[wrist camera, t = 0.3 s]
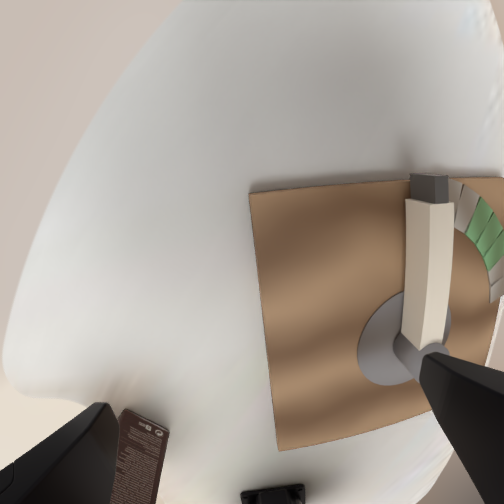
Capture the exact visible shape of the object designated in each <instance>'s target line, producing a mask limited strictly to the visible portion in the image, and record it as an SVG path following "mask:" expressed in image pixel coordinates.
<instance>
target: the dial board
mask: <svg viewBox="0 0 504 504" xmlns="http://www.w3.org/2000/svg"><path fill="white" fill-rule="evenodd" d="M448 185H449V202H453V203H454V237H453V257H452V270H451V281H450V291H449V300H448V308H447V315H446V322H445V328H444V334H443V340H442V345H443V346H444V347H446V348H447V349H448V351H449V353H450V356H452V357H456V358H459V359H462V360H465V361H469V362H472V363H475V364H479V365H482V366H485V362H486V359H487V355H488V351H489V348H490V344H491V340H492V335H493V331H494V327H495V322H496V317H497V312H498V307H499V302H500V297H501V296H502V295H504V178H502V177H467V178H448ZM248 195H249V203H250V212H251V220H252V229H253V237H254V246H255V254H256V263H257V272H258V280H259V289H260V298H261V306H262V315H263V324H264V332H265V341H266V350H267V359H268V367H269V376H270V385H271V394H272V403H273V412H274V420H275V429H276V438H277V445H278V450H279V451H285V450H291V449H297V448H302V447H307V446H312V445H317V444H322V443H326V442H330V441H335V440H339V439H343V438H347V437H351V436H354V435H358V434H362V433H365V432H369V431H372V430H376V429H379V428H382V427H385V426H388V425H392V424H395V423H398V422H401V421H403V420H406V419H409V418H412V417H415V416H417V415H420V414H423V413H425V412H428V411H431V410H432V408H431V406H430V404H429V402H428V400H427V398H426V396H425V394H424V392H423V390H422V387H421V385H420V383H418V382H417V381H416V380H415V379H414V377H413V376H412V375H411V374H410V373H409V371H408V370H407V369H406V368H405V367H404V365H403V364H402V363H401V362H400V361H399V359H398V358H397V357H396V356H395V354H394V351H393V347H394V343H395V340H396V338H397V337H398V335H399V334H400V333H401V327H402V317H403V304H404V289H405V268H406V201H405V199H411V190H410V180H393V181H377V182H363V183H350V184H337V185H326V186H315V187H305V188H295V189H285V190H276V191H267V192H258V193H250V194H248Z"/></svg>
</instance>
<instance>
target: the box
mask: <svg viewBox="0 0 504 504" xmlns="http://www.w3.org/2000/svg"><path fill="white" fill-rule="evenodd" d="M117 421H118V423H119V427H120V433H119V443H118V453H117V465H116V474H115V480H114V485H113V490H112V495H111V500H110V504H155V503H156V498H157V493H158V487H159V482H160V477H161V472H162V467H163V462H164V457H165V452H166V447H167V442H168V438H169V431H167V430H166V429H164V428H163V427H162V426H159V425H157V424H155V423H153V422H151V421H149V420H147V419H145V418H143V417H141V416H138V415H136V414H135V413H132V412H131V411H128V410H126V409H125V410H123V412H122V414H121V415H120V417H119V419H118V420H117Z"/></svg>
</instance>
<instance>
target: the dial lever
mask: <svg viewBox="0 0 504 504" xmlns="http://www.w3.org/2000/svg"><path fill="white" fill-rule="evenodd" d="M410 190H411V199H405V201H406V268H405V289H404V304H403V317H402V327H401V333H400V334H399V335H398V337H397V338H396V340H395V343H394V347H393V351H394V354H395V356H396V357H397V358H398V359H399V361H400V362H401V363H402V364H403V365H404V367H405V368H406V369H407V370H408V371H409V373H410V374H411V375H412V376H413V377H414V379H415V380H416V381H417V382H418V383H420V382H419V374H420V369H421V363H422V358H423V356H424V355H426V354H428V353H431V352H440V353H443V354H446V355H449V356H450V353H449V351H448V349H447V348H446V347H444V346H443V345H442V340H443V334H444V328H445V322H446V315H447V308H448V300H449V291H450V281H451V270H452V257H453V237H454V203H453V202H449V185H448V175H438V174H427V173H413V174H410Z"/></svg>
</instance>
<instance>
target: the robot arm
mask: <svg viewBox="0 0 504 504" xmlns="http://www.w3.org/2000/svg"><path fill="white" fill-rule="evenodd" d="M419 382H420V385H421V387H422V390H423V392H424V394H425V396H426V398H427V400H428V402H429V404H430V406H431V408H432V411H433V413H434V415H435V417H436V419H437V421H438V423H439V425H440V426H441V428H442V430H443V431H444V433H445V435H446V436H447V438H448V440H449V441H450V443H451V445H452V446H453V448H454V450H455V451H456V453H457V455H458V456H459V458H460V460H461V461H462V463H463V465H464V467H465V469H466V470H467V472H468V474H469V475H470V477H471V479H472V481H473V483H474V485H475V486H476V488H477V490H478V492H479V494H480V495H481V498H482V499H483V501H484V503H485V504H504V372H502V371H498V370H495V369H492V368H489V367H485V366H482V365H479V364H475V363H472V362H469V361H465V360H462V359H459V358H456V357H452V356H449V355H446V354H443V353H440V352H431V353H428V354H426V355H424V356H423V358H422V363H421V369H420V374H419ZM119 433H120V427H119V423H118V421H117V418H116V416H115V414H114V412H113V410H112V408H111V406H110V404H109V403H107V402H95V403H93V404H92V405H91V406H89V407H88V408H87V409H85V410H84V411H83V412H81V413H80V414H79V415H77V416H76V417H74V419H72V420H71V421H69V422H68V423H66V424H65V425H64V426H62V427H61V428H59V429H58V430H57V431H55V432H54V433H53V434H51V435H50V436H49V437H47V438H46V439H45V440H43V441H42V442H40V443H39V444H37V445H36V446H35V447H33V448H32V449H31V450H29V451H28V452H26V453H25V454H23V455H22V456H21V457H19V458H18V459H16V460H15V461H14V463H13V462H12V463H11V464H10V465H8V466H7V467H5V468H4V469H2V470H1V471H0V504H110V500H111V495H112V490H113V485H114V480H115V474H116V465H117V453H118V443H119ZM240 497H241V501H242V504H305V486H304V485H303V484H300V485H294V486H288V487H282V488H276V489H269V490H261V491H253V492H244V493H241V494H240Z"/></svg>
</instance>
